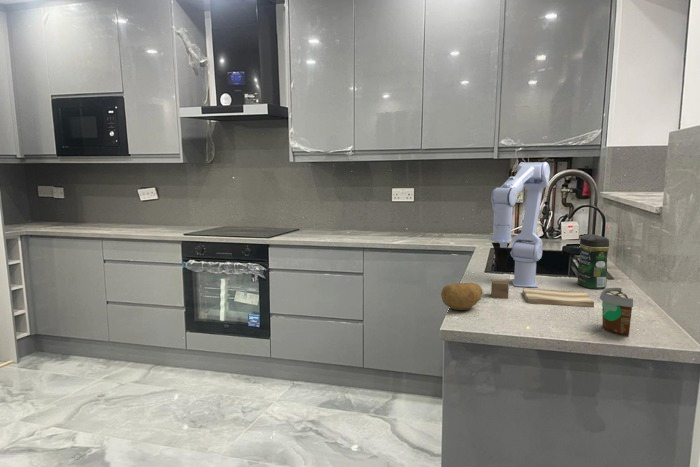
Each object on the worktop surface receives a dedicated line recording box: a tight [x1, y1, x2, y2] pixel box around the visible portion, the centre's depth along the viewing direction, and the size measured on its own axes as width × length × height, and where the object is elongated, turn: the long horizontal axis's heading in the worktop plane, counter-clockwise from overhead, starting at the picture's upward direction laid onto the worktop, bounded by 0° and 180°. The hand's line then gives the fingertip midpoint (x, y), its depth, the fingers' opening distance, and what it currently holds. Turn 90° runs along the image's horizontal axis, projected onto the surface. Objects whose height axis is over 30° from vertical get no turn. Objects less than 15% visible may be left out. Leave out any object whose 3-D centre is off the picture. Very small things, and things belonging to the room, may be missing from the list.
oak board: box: [522, 287, 595, 308], centre depth 154 cm, size 13×19×2 cm
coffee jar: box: [577, 233, 610, 290], centre depth 170 cm, size 10×8×19 cm
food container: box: [599, 287, 634, 337], centre depth 125 cm, size 12×6×10 cm, turn 163°
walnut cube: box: [490, 279, 510, 300], centre depth 157 cm, size 5×5×5 cm
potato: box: [440, 282, 483, 311], centre depth 143 cm, size 10×14×8 cm
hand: (500, 266), depth 156 cm, fingers open, 7 cm apart
